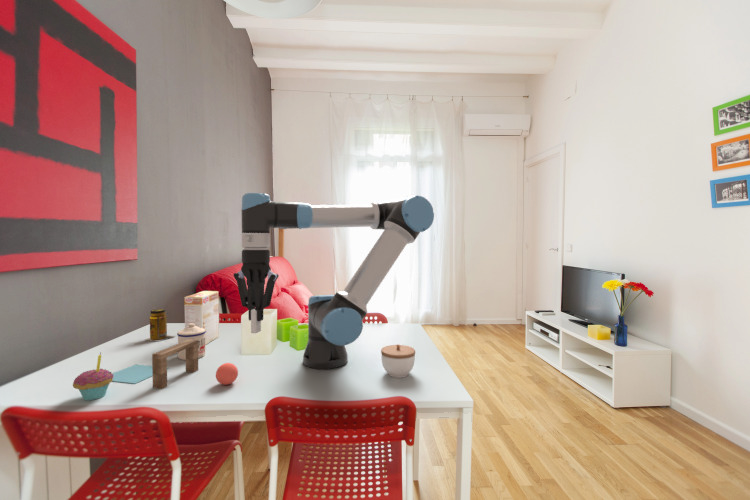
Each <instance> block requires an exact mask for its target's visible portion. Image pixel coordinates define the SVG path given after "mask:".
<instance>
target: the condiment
mask: <svg viewBox="0 0 750 500" xmlns="http://www.w3.org/2000/svg"><path fill="white" fill-rule="evenodd" d="M167 318H168V317H167V313H166V309H165V308H155V309H152V310H150V317H149V338H146V340H147V341H151V342H160V341H163V340H168V339H171V338H174V337H176V336H175V335H169V334H167V332H168V325H167V322H168V321H167V320H168V319H167Z"/></svg>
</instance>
